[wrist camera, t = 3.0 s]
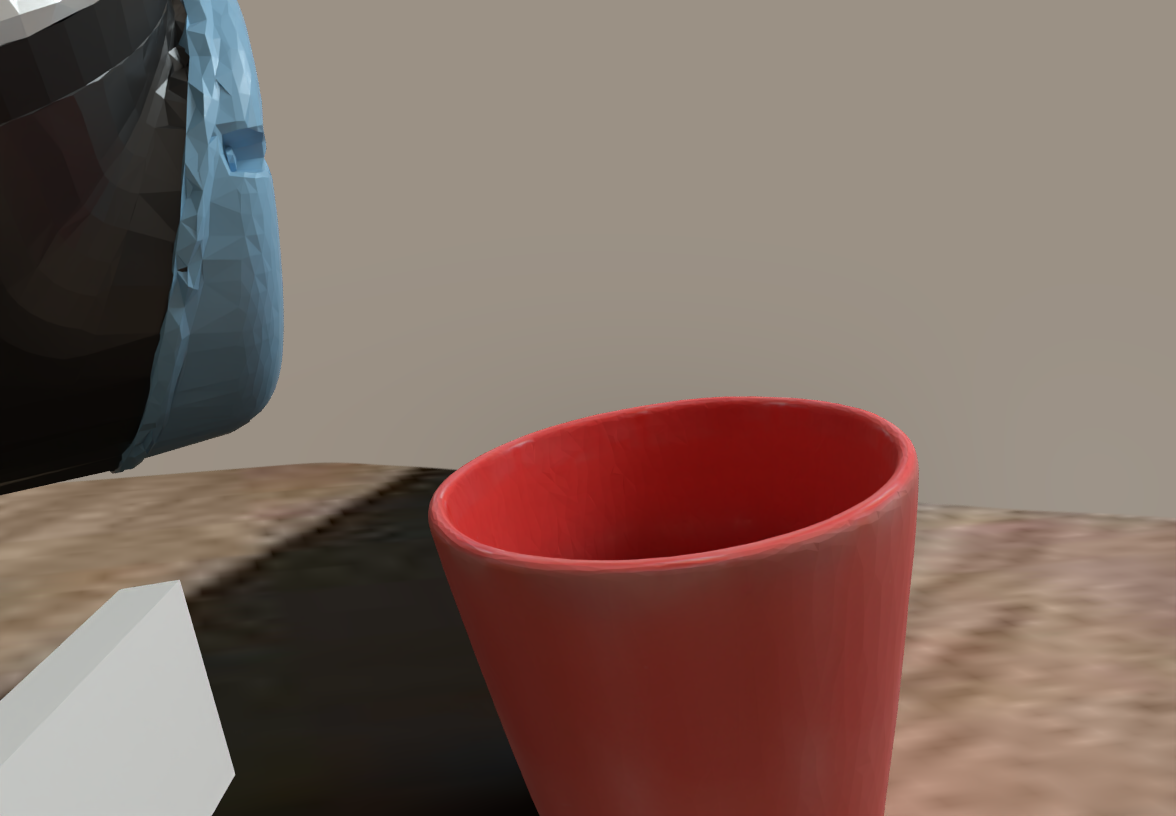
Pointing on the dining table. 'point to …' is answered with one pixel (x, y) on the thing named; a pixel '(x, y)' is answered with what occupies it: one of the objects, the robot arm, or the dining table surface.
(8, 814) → the robot arm
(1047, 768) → the dining table surface
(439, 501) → the flower pot
